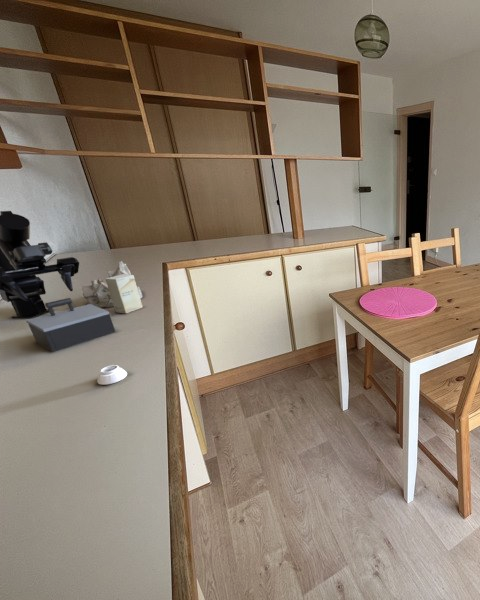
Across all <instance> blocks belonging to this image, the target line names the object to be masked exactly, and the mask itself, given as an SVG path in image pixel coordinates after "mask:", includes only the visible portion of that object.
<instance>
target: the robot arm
mask: <svg viewBox="0 0 480 600" xmlns="http://www.w3.org/2000/svg"><path fill="white" fill-rule="evenodd" d="M30 232H31V222H30V220H29V219H28V218H27V217H25V216H23V215H20V214H17V213H13V212H12V210H1V211H0V297H1V299H2V300H3V301H5V302H7V303H9V302H10V304H11V305H12V308H13V310H14V312H15V314H14V315H11V316H10V317H11V318H12V319H32V318H36V317H39V316H42V315H43V314H46V313H48V312H49V309H48V308H47V307H46V305H45V302H44V300H43V299H42V297H41V296H43V295H44V296H45V295H46V293H47V292H46V288H45V281H44V280H43V279H41V277H39V276H37V275H44V274H50V273H55V272H58V274H59V276H60V279H61V280H62V282H63V283H64V285H65V286H66V288H67V289H68V290H69V292H73V290H74V289H73V288H74V287H73V283H72V277H74V276H75V275H76V274H78V273H79V268H80V262H79V260H78V259H77V258H76V257H73V256H69V257H63V258H62V257H61V258H56V264H48V265H46V263H47V260H46V258H45V257H46V256H48V255H52V254H53V249H52V246H50V244H49V243H48V242H39V243H37V244H33V245H31V243H30V242H29V241H28V240H30V238H31V237H30V234H31V233H30ZM49 313H50V312H49Z"/></svg>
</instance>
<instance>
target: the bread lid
mask: <svg viewBox="0 0 480 600" xmlns="http://www.w3.org/2000/svg"><path fill="white" fill-rule="evenodd" d="M44 304H45V307H46V309H49V313H48V314H45V315H39V316H36V317H33V318H27V319H25V322H26V323H27V324H28V325H29V324H30V325H32V326H34V327H36V328H37V329H39V330H41V331H43V332H47V331H50V330H54V329H57V328H61V327H64V326H68V325H72V324H75V323H79V322H82V321H86V320H89V319H93V318H97V317H100V316H104V315H107V314H110V312H109V310H107V309H103V308H102V307H101V308H99V307H96V306H94V305H91V304H88V305H87V304H85V305H81V306H77V307H74V306H73V300H72V298H70V297H67V298H64V299H59V300H54V301H49V302H44ZM66 305H67V306H68V309H65V310H61V311H56V312H55V311H54V308H57V307H58V308H59V307H61V306H66Z"/></svg>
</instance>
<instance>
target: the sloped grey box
mask: <svg viewBox="0 0 480 600" xmlns="http://www.w3.org/2000/svg"><path fill="white" fill-rule="evenodd" d="M28 328H29V329H30V331H31V333H32V336H33V338H34V340H35V342H36V343H37V344H38V345H40V346H42V347H43V348H45V349H46V350H48V351H50V352H52V353H54V352H57V351H61V350H63V349H66V348H70V347H74V346H75V345H76V346H77V345H79V344H82V343H86V342H88V341H92V340H94V339H98V338H101V337H103V336H108V335H110V334H112V333H116V328H115V326H114V324H113V319H112V317H111V314H110V313H109V314H107V315H104V316H100V317H97V318H93V319H89V320H86V321H82V322H79V323H75V324H72V325H68V326H64V327H61V328H57V329H54V330H50V331H47V332H43V331H41V330H39V329H37V328H36V327H34V326H32V325H30V324H28Z"/></svg>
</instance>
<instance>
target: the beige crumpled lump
mask: <svg viewBox="0 0 480 600" xmlns="http://www.w3.org/2000/svg"><path fill="white" fill-rule="evenodd" d="M129 269H130V268H129V267H128V266H127V263H124V262H123V261H118V266H117V268H116V270H109V271H107V274H108V278H110V277H114V276H118V275H122V274H130V275H132V274H131V271H130V270H129ZM136 286H137V284H136ZM137 289H138V292H139V296H140V299H142V298H143V293H142V290H141V287H140V286H137ZM81 290H82V296H83V298H84V299H85V300H87V302H86V305H88V304H91V305H94V306H96V307H99V308H101V309H102V308H111V307H114V304H113V301H112V298H111V295H110V292H109V289H108V286H107V283H106V280H105V279H102V278H98V279H94V280H91V285H83V286H82V287H81Z"/></svg>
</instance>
